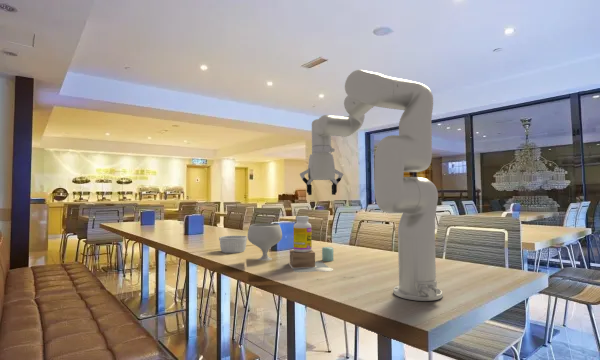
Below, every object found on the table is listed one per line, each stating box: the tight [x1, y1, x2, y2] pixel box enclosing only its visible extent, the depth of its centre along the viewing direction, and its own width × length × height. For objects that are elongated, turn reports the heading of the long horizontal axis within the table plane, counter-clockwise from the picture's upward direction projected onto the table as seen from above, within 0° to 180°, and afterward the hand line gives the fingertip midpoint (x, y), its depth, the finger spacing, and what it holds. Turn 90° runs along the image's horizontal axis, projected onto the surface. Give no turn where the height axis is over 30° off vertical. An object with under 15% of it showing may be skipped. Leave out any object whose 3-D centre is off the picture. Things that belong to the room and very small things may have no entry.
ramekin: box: [218, 235, 248, 254], centre depth 169 cm, size 13×13×7 cm
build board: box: [288, 261, 334, 273], centre depth 125 cm, size 17×14×1 cm
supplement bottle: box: [293, 215, 313, 252], centre depth 129 cm, size 7×7×13 cm
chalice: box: [247, 223, 283, 262], centre depth 141 cm, size 14×14×15 cm
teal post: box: [321, 246, 334, 262], centre depth 137 cm, size 4×4×6 cm
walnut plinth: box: [289, 249, 316, 268], centre depth 129 cm, size 8×8×5 cm
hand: (321, 194), depth 137 cm, fingers open, 9 cm apart
